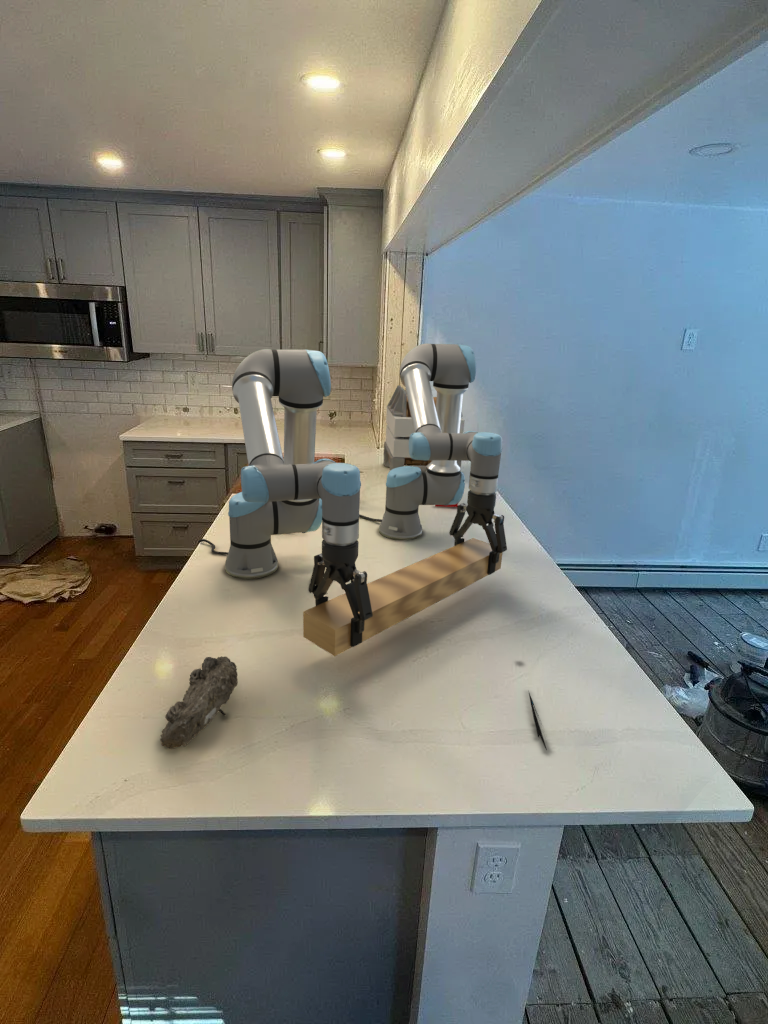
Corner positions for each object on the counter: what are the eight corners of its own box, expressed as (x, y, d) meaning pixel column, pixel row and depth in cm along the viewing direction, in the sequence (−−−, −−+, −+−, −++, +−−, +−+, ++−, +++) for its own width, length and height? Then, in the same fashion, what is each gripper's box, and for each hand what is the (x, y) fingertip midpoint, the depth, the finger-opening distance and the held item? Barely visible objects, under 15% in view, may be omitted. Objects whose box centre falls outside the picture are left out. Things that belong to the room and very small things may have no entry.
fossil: (187, 658, 118) (238, 626, 113) (219, 688, 121) (270, 658, 116) (136, 742, 99) (195, 708, 94) (175, 775, 101) (234, 744, 96)
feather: (520, 667, 129) (525, 661, 129) (546, 754, 103) (553, 747, 102) (514, 663, 129) (519, 657, 129) (538, 750, 103) (545, 742, 102)
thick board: (471, 557, 166) (473, 537, 164) (500, 568, 160) (503, 548, 158) (303, 636, 123) (303, 611, 121) (334, 656, 116) (335, 630, 114)
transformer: (382, 463, 289) (386, 382, 275) (445, 464, 293) (451, 384, 279) (390, 482, 257) (394, 392, 243) (460, 483, 261) (468, 394, 247)
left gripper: (290, 528, 120) (292, 620, 128) (366, 562, 106) (363, 663, 113) (317, 520, 126) (317, 609, 133) (393, 551, 111) (388, 648, 119)
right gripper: (440, 484, 156) (434, 557, 164) (511, 504, 142) (502, 584, 149) (456, 479, 161) (450, 550, 169) (527, 498, 147) (517, 576, 154)
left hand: (338, 634), depth 123 cm, fingers closed on thick board, 10 cm apart
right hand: (474, 566), depth 159 cm, fingers closed on thick board, 10 cm apart
